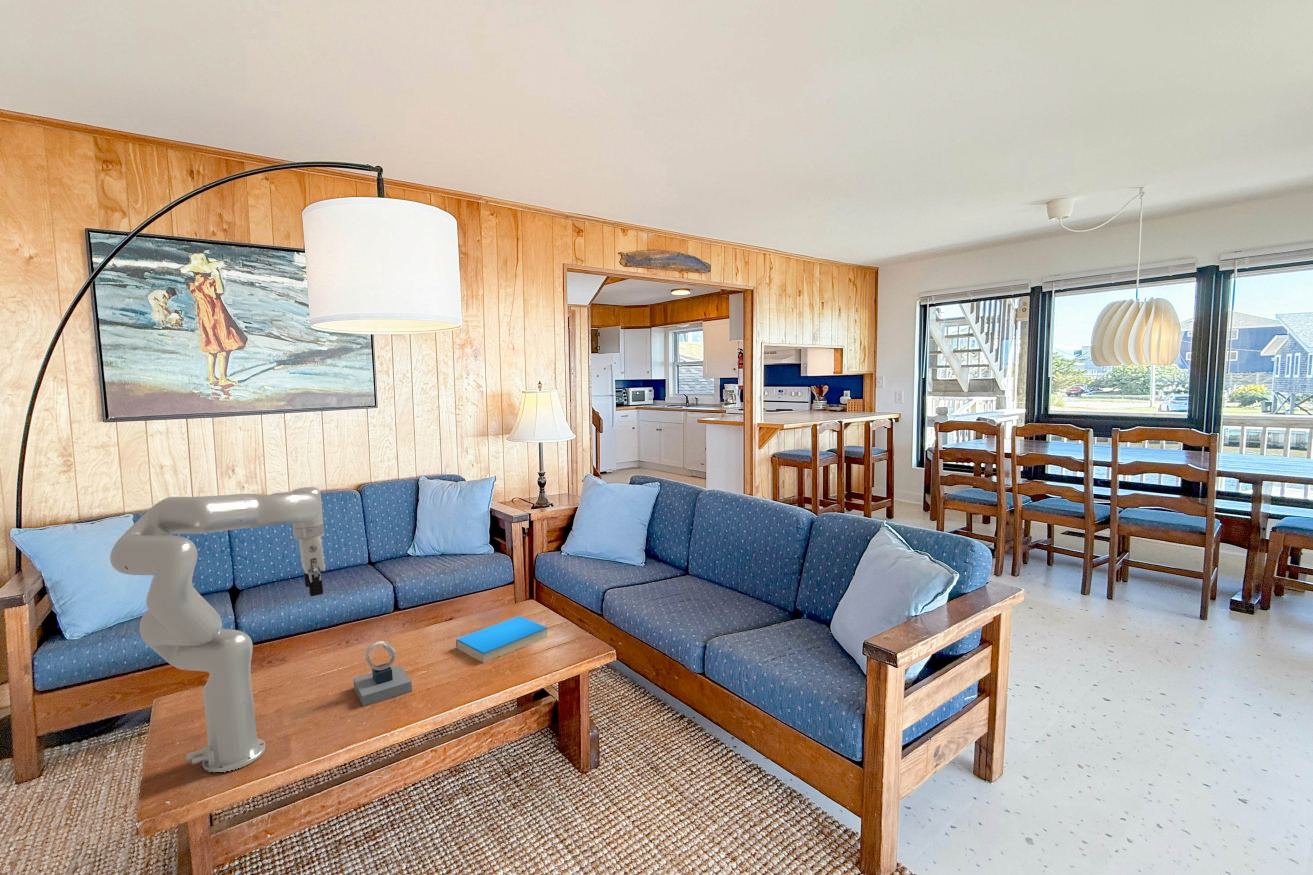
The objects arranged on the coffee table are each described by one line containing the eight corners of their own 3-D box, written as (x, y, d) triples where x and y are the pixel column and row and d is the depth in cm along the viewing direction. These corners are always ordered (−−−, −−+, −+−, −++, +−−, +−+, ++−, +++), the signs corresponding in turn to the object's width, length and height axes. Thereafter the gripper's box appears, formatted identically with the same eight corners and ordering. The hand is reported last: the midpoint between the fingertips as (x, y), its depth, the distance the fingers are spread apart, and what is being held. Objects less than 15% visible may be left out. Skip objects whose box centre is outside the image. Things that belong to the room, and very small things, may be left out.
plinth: (363, 706, 172) (362, 696, 171) (354, 687, 182) (353, 678, 182) (412, 691, 179) (411, 681, 179) (400, 674, 190) (399, 664, 189)
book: (547, 627, 213) (484, 651, 195) (548, 639, 213) (484, 665, 195) (518, 615, 224) (455, 637, 206) (518, 626, 225) (455, 649, 206)
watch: (399, 677, 181) (397, 641, 180) (370, 686, 176) (367, 649, 175) (395, 670, 186) (392, 635, 184) (366, 679, 181) (362, 642, 180)
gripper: (328, 535, 171) (333, 595, 172) (319, 523, 185) (324, 579, 186) (297, 540, 166) (303, 602, 168) (290, 528, 180) (295, 585, 182)
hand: (314, 590), depth 177 cm, fingers open, 9 cm apart
